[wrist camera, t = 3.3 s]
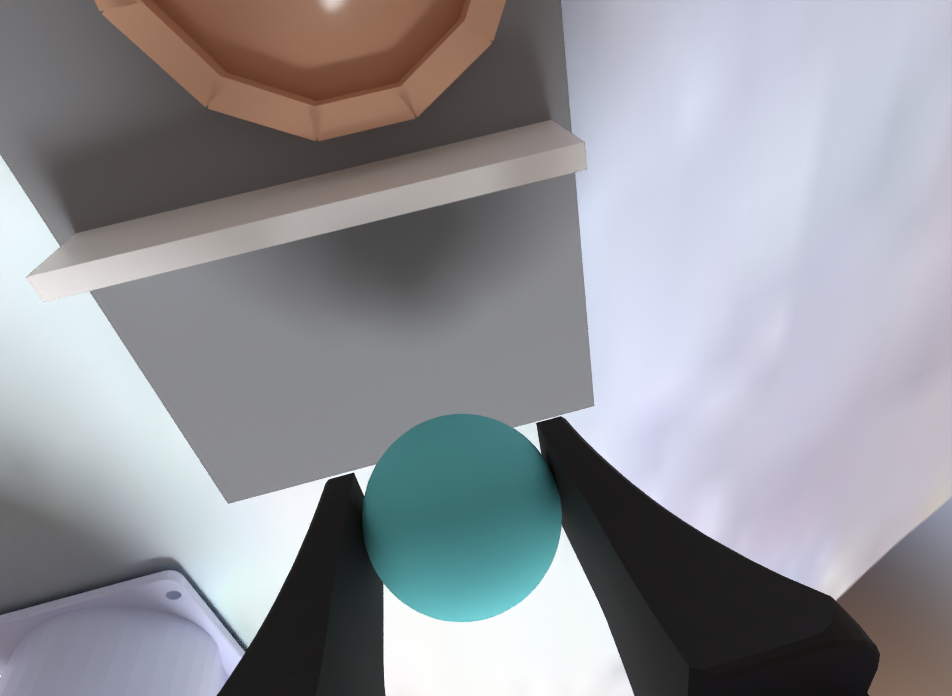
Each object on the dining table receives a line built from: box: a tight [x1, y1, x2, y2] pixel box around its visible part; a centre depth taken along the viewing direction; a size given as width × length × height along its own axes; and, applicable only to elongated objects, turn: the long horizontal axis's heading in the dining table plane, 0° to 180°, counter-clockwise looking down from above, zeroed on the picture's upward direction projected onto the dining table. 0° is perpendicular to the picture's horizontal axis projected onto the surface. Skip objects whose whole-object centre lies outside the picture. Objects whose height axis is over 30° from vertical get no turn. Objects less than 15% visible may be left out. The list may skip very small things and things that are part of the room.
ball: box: [362, 414, 562, 622], centre depth 13 cm, size 4×4×4 cm
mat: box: [0, 0, 594, 504], centre depth 14 cm, size 19×13×1 cm
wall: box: [26, 120, 587, 302], centre depth 13 cm, size 1×12×2 cm, turn 100°
